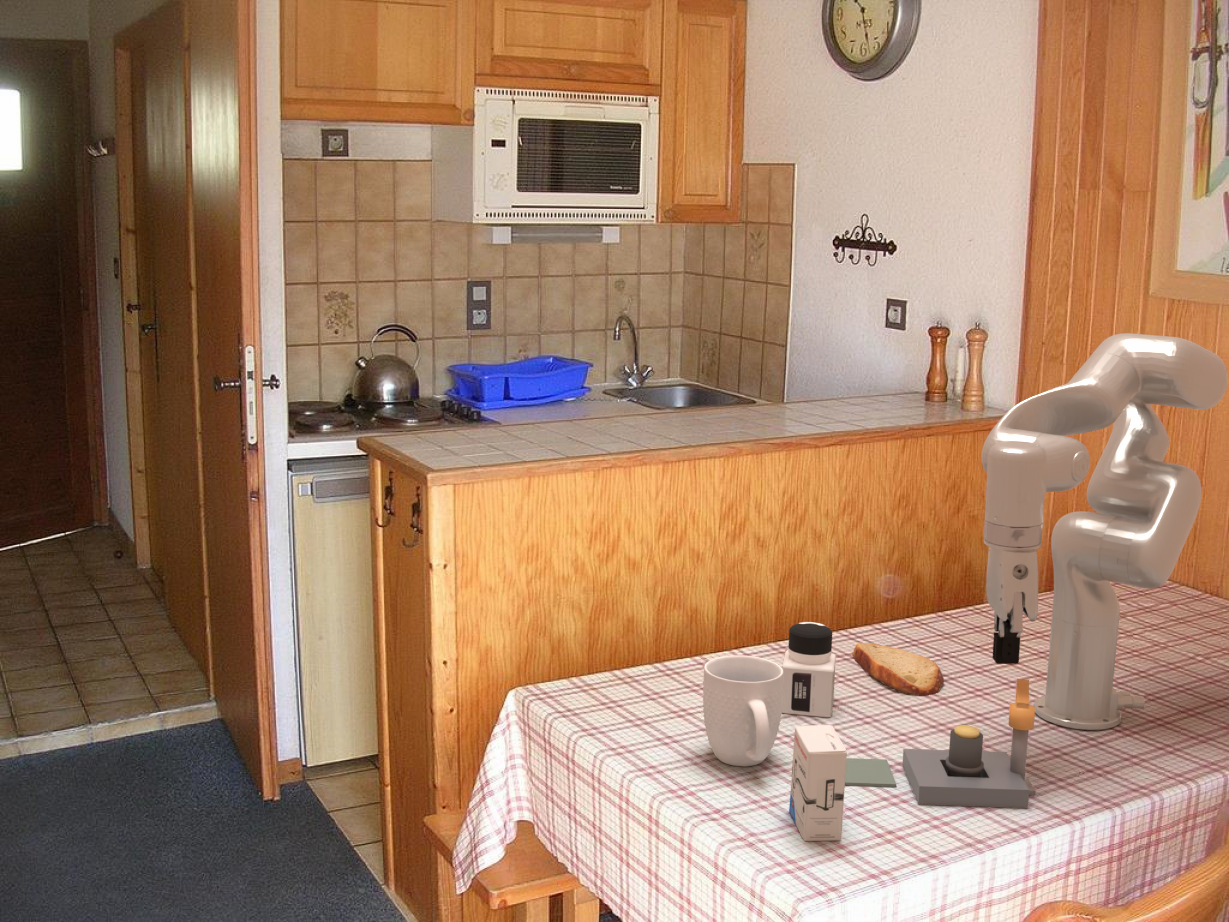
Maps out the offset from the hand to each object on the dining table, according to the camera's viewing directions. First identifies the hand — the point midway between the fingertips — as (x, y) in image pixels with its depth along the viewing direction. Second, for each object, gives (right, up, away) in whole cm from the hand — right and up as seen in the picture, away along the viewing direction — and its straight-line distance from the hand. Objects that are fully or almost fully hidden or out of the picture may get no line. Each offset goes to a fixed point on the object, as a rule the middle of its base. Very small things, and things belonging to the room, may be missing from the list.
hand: (1005, 661), depth 181 cm
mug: (-36, -14, +1) cm, 39 cm away
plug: (-7, -16, -6) cm, 18 cm away
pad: (-20, -15, -2) cm, 25 cm away
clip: (+1, -6, -3) cm, 7 cm away
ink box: (-29, -18, -18) cm, 38 cm away
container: (-24, -10, +21) cm, 34 cm away
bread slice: (-8, -8, +37) cm, 39 cm away
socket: (-7, -16, -6) cm, 18 cm away
